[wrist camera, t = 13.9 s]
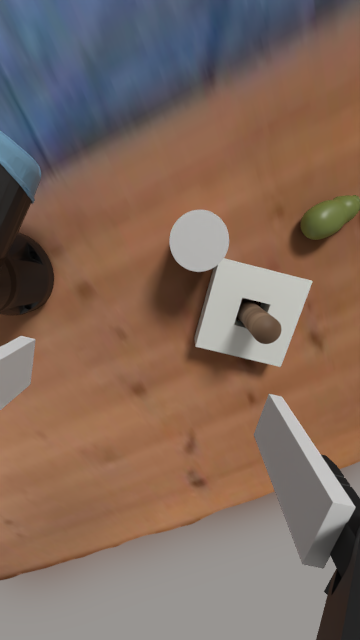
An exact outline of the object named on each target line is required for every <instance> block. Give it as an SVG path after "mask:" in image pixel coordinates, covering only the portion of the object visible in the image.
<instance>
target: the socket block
mask: <svg viewBox="0 0 360 640" xmlns="http://www.w3.org/2000/svg"><path fill="white" fill-rule="evenodd" d="M311 284H312V281H311V280H307V279H303V278H299V277H295V276H291V275H287V274H283V273H279V272H275V271H271V270H267V269H263V268H260V267H256V266H252V265H248V264H244V263H240V262H236V261H232V260H228V259H224V258H223V260H222V261H221V262H220V263H219V264H218V265H217V266H215V267H214V268H213V272H212V276H211V279H210V283H209V286H208V290H207V294H206V297H205V301H204V305H203V308H202V312H201V316H200V319H199V323H198V327H197V330H196V334H195V347H199V348H204V349H208V350H212V351H216V352H220V353H225V354H229V355H233V356H237V357H241V358H245V359H250V360H254V361H258V362H262V363H266V364H271V365H275V366H279V367H281V365H282V362H283V359H284V357H285V354H286V351H287V349H288V346H289V343H290V341H291V338H292V335H293V333H294V330H295V327H296V324H297V322H298V319H299V316H300V314H301V311H302V308H303V306H304V303H305V300H306V298H307V295H308V292H309V289H310V287H311ZM242 298H246V299H250V300H254V301H258V302H261V305H260V307H261V308H262V309H263V310H265V311H266V312H267V313H269V314H270V315H271V316H273V317H274V318H275V319H277V320H278V321H279V323H280V324H281V334H280V336H279V338H278V339H277V340H276V341H275V342H273V343H270V344H262V343H260V342H258V341H257V340H256V339H255V338H254V337H253V336H252V334H251V333H250V332H249V331H248V329H247V328H246V327H245V326H244V324H243V323H242V322H241V321H239V320H236V317H237V313H238V310H239V307H240V304H241V300H242Z"/></svg>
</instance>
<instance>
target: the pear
mask: <svg viewBox="0 0 360 640" xmlns="http://www.w3.org/2000/svg"><path fill="white" fill-rule="evenodd" d="M359 210H360V199H359V196H356V195H353V196H339V197H336V198H334V199H333V200H328V201H324V202H321V203H319V204H317V205H315V206H314V207H312V208H311V209H309V210H308V211H307V212H306V213H305V214H304V215H303V217H302V219H301V230H302V232H303V234H304V235H305V236H306V237H307V238H309V239H313V240H318V239H323V238H326V237H328V236H330V235H332V234H334V233H336V232H337V231H338V230H340V229H341V227H342V226H343V225H344V224H345V223H347V222H349V221H350V220H351V219H353V218H354V216H355V215H356V214H357V213H358V211H359Z"/></svg>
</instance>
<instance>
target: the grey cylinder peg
mask: <svg viewBox="0 0 360 640" xmlns="http://www.w3.org/2000/svg"><path fill="white" fill-rule="evenodd" d="M228 246H229V234H228V230H227V228H226V226H225V224H224V222H223V221H222V220H221V219H220V218H219V217H218V216H217V215H216V214H214V213H212V212H210V211H206V210H193V211H190V212H188V213H186V214H184V215H183V216H181V217H180V218H179V219H178V220H177V221H176V223H175V224H174V226H173V228H172V230H171V234H170V249H171V252H172V255H173V257H174V258H175V260H176V261H177V262H178V263H179V264H180V265H181V266H182V267H184V268H186V269H188V270H191V271H195V272H202V271H207V270H210V269H212V268H214V267H215V266H217V265H218V264H219V263H220V262H221V261H222V260H223V258H224V257H225V255H226V253H227V250H228Z"/></svg>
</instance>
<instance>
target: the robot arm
mask: <svg viewBox="0 0 360 640" xmlns="http://www.w3.org/2000/svg"><path fill="white" fill-rule="evenodd" d="M40 180H41V171H40V167H39V165H38V164H37V162H36V161H35V160H34V159H33V158H32V157H31V156H30V155H29V154H28V153H27V152H26V151H24V150H23V149H22V148H21V147H20V146H19V145H17V144H16V143H15V142H14V141H13V140H11V139H10V138H9V137H8V136H6V135H5V134H4V133H3V132H1V131H0V314H4V315H20V314H25V313H28V312H30V311H33V310H35V309H37V308H39V307H40V306H41V305H43V304H44V303H45V302H46V300H47V299H48V297H49V296H50V294H51V291H52V288H53V282H54V274H53V268H52V265H51V262H50V260H49V258H48V256H47V254H46V253H45V251H44V250H43V249H42V248H41V246H40V245H39V244H37V243H36V242H35V241H34V240H32V239H31V238H29V237H28V236H26V235H23V234H21V233H18V231H19V229H20V227H21V224H22V222H23V220H24V218H25V216H26V213H27V211H28V209H29V207H30V204H31V203H32V204H33V203H34V195H35V193H36V190H37V188H38V185H39V183H40ZM34 348H35V339H33V338H28V337H24V336H20V337H18V338H16V339H14V340H12V341H10V342H9V343H7V344H5V345H3V346H1V347H0V410H1V409H2V408H3V407H5V406H6V405H7V404H8V403H9V402H10V401H12V400H13V399H14V398H15V397H16V396H17V395H19V394H20V393H21V392H22V391H23V390H24V389H25V388H27V387H28V386H29V385H30V383H31V374H32V366H33V357H34ZM254 437H255V439H256V442H257V445H258V447H259V450H260V453H261V455H262V458H263V461H264V463H265V466H266V469H267V471H268V474H269V477H270V479H271V482H272V485H273V487H274V490H275V493H276V495H277V498H278V501H279V503H280V506H281V509H282V511H283V514H284V516H285V519H286V522H287V524H288V527H289V530H290V532H291V535H292V538H293V540H294V543H295V546H296V548H297V551H298V554H299V556H300V559H301V562H302V564H304V565H309V566H315V567H319V568H324V567H325V565H326V563H327V561H328V559H329V557H330V555H331V557H332V559H333V562H334V563H335V566H336V568H337V569H336V571H335V573H334V574H333V576H332V578H331V580H330V582H329V583H328V585H327V587H326V589H325V591H324V592H325V593H326V594H327V595H328V596H327V600H326V604H325V607H324V611H323V615H322V619H321V623H320V627H319V631H318V635H317V639H316V640H360V498H359V497H358V495H357V494H356V492H355V491H354V490H353V488H352V487H350V484H349V483H348V482H347V480H346V478H344V475H343V474H342V473H341V471H340V470H339V468H338V467H337V466H336V465H335V464H334V463H333V462H332V461H331V460H330V459H329V458H328V457H327V456H325V455H321V454H320V453H319V451H318V450H317V448H316V447H315V445H314V444H313V442H312V441H311V439H310V438H309V436H308V435H307V433H306V432H305V430H304V429H303V427H302V426H301V425H300V423H299V422H298V420H297V419H296V417H295V416H294V414H293V413H292V411H291V410H290V408H289V407H288V405H287V404H286V402H285V401H284V399H283V398H282V397H281V396H276V395H272V394H269V395H268V398H267V400H266V403H265V406H264V408H263V411H262V414H261V417H260V419H259V422H258V425H257V427H256V430H255V433H254Z"/></svg>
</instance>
